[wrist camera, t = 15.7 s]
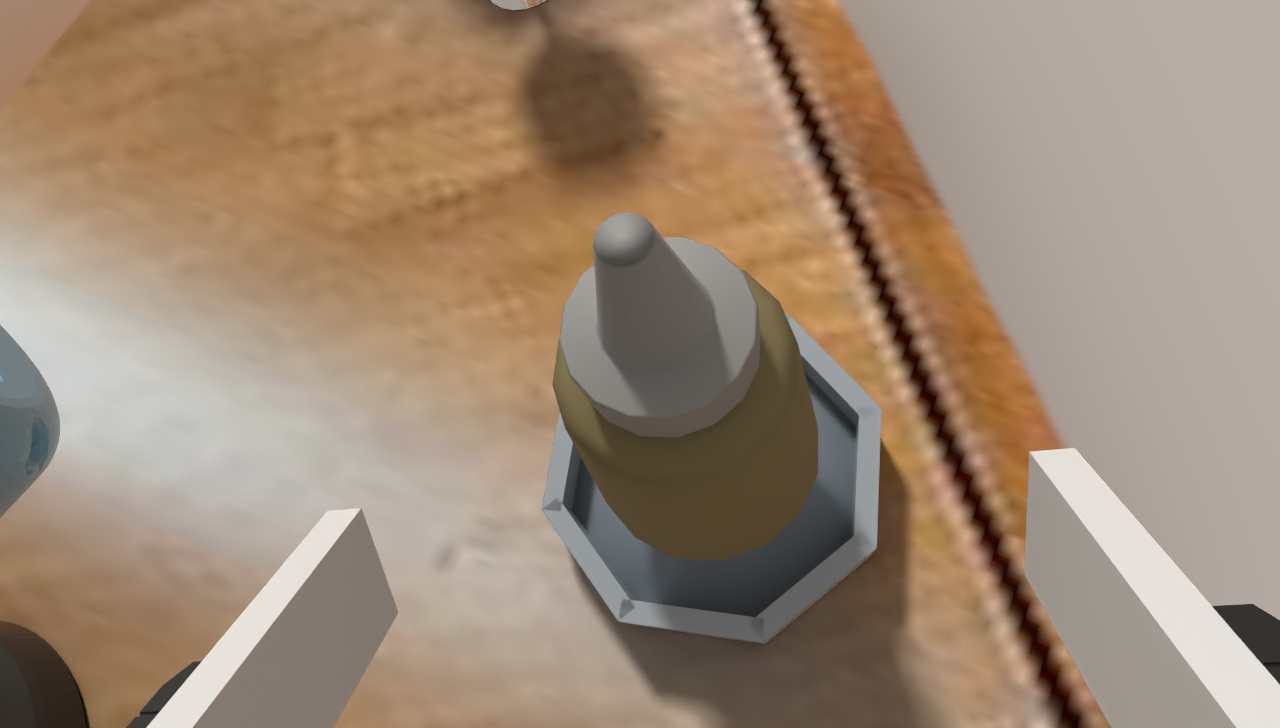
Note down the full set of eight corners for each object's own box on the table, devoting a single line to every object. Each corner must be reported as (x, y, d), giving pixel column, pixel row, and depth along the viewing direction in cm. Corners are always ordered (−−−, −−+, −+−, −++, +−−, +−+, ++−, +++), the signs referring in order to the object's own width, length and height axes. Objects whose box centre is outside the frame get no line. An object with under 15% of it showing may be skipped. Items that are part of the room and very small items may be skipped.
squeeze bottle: (857, 448, 30) (943, 177, 13) (736, 619, 28) (660, 555, 12) (694, 342, 32) (597, 11, 16) (576, 491, 31) (335, 296, 15)
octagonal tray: (689, 707, 28) (680, 711, 26) (513, 454, 33) (493, 439, 31) (942, 497, 29) (955, 483, 27) (735, 283, 34) (731, 255, 32)
